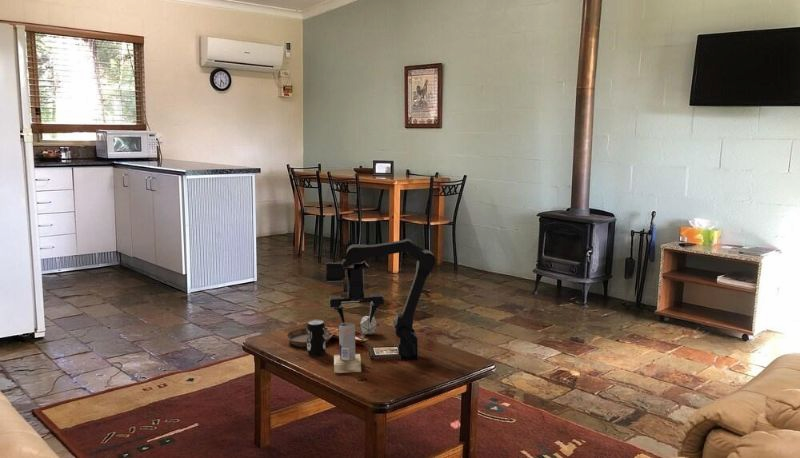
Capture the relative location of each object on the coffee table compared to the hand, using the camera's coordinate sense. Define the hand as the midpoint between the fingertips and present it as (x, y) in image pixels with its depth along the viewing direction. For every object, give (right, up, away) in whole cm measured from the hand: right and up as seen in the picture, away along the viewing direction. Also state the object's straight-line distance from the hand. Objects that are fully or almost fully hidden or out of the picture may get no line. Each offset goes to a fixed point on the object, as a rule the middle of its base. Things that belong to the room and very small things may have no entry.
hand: (357, 323), depth 222 cm
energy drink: (-3, -11, -7) cm, 13 cm away
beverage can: (-15, -12, +7) cm, 21 cm away
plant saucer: (-20, -10, +20) cm, 30 cm away
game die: (+3, -9, +28) cm, 29 cm away
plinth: (-3, -14, -7) cm, 16 cm away
